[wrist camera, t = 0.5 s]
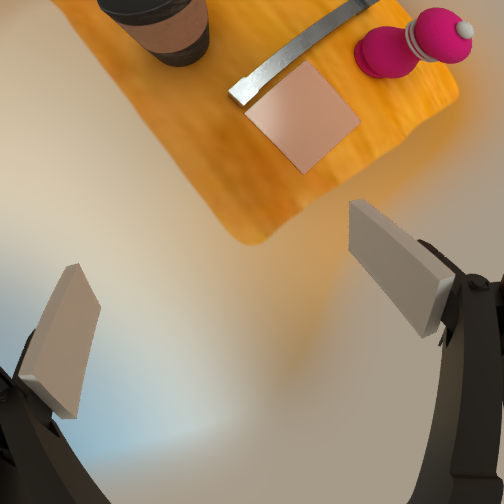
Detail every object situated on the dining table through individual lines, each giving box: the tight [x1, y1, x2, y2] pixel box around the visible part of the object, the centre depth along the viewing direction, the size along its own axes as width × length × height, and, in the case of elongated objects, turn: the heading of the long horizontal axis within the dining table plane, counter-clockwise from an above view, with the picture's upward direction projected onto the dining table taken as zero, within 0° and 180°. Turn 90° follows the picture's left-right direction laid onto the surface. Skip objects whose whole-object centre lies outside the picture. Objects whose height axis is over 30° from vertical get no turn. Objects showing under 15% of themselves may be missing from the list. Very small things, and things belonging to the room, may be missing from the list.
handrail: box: [228, 0, 379, 108], centre depth 29 cm, size 24×2×4 cm, turn 134°
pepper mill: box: [354, 8, 474, 78], centre depth 23 cm, size 7×7×20 cm
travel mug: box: [97, 0, 209, 67], centre depth 21 cm, size 8×8×20 cm
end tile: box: [244, 60, 361, 175], centre depth 35 cm, size 11×11×1 cm
